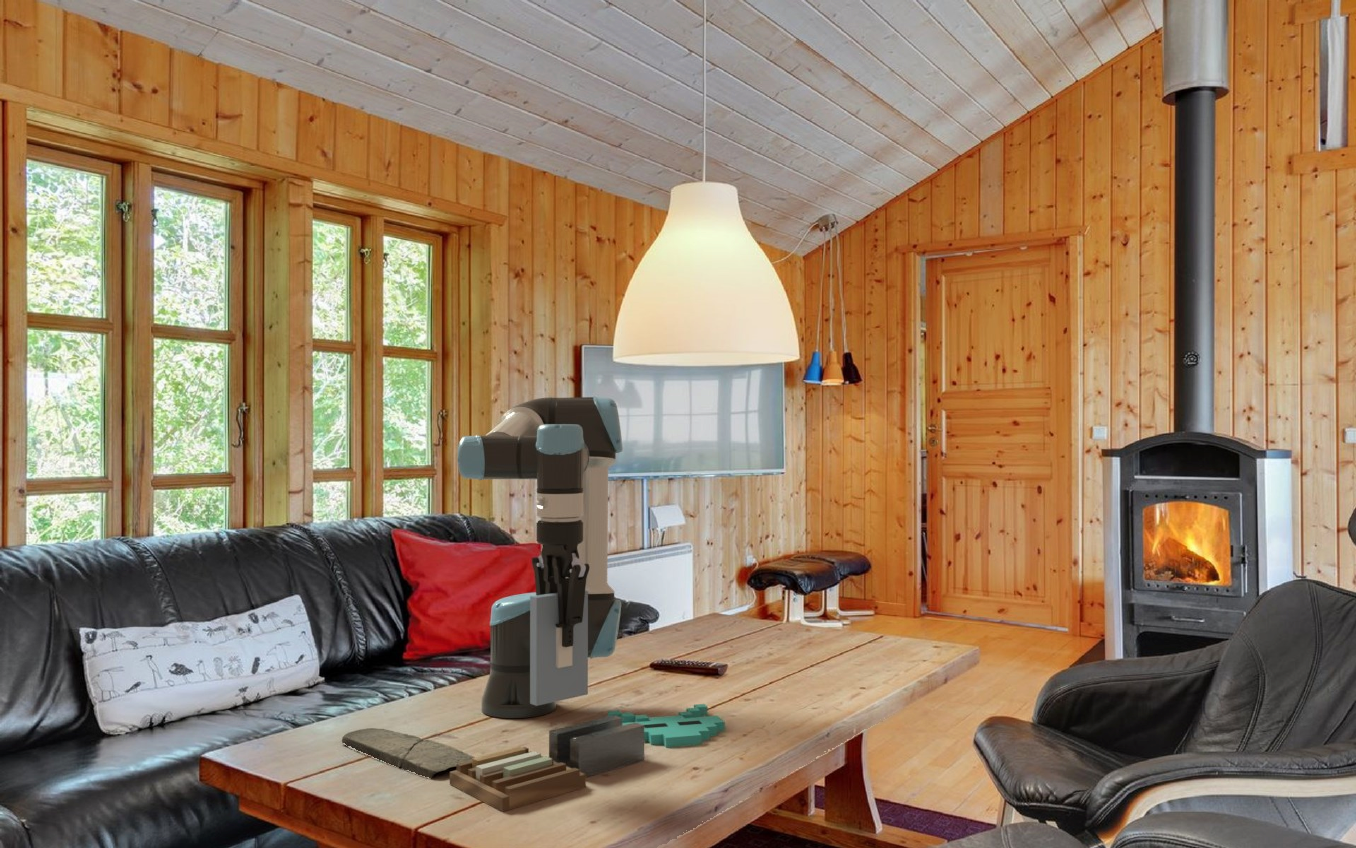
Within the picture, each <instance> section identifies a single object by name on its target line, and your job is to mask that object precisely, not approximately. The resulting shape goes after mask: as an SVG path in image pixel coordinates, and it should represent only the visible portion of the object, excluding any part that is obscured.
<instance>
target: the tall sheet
mask: <svg viewBox="0 0 1356 848" xmlns="http://www.w3.org/2000/svg"><path fill="white" fill-rule="evenodd" d="M558 623H559V609H558V593H551V594H544V595H536V596H530V704H533V705H536V706H538V705H542V704H547V703H551V702H556V703H557V702H559V701H564V700H569V699H573V698H578V697H582V696H587V695H588V694H589V691H588V690H589V689H588V688H589V679H588V678H589V672H588V671H589V667H588V666H589V663H588V661H589V658H588V591H586V590H585V598H584V609H583V620H582V622H581V623H578V624H575V625H574V627H573V646H572V666H567V667H562V668H557V667H556V625H555V624H558Z"/></svg>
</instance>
